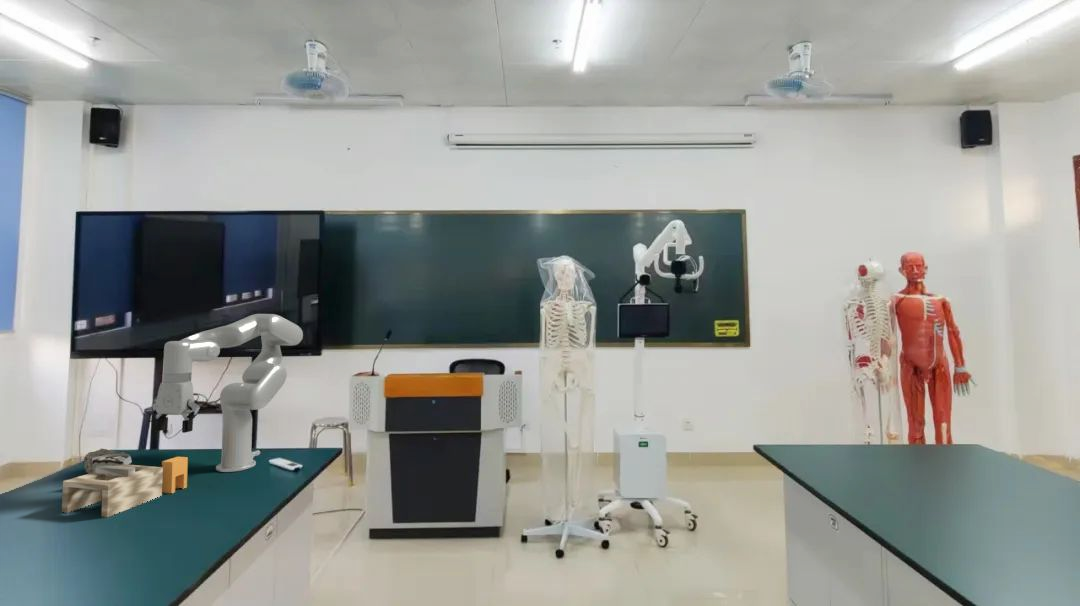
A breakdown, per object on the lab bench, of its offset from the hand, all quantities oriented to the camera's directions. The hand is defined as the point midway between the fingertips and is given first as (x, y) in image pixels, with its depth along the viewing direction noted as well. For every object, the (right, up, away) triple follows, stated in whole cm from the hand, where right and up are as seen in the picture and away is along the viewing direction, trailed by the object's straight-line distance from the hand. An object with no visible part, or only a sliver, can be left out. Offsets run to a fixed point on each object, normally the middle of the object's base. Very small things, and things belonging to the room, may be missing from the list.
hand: (174, 431), depth 154 cm
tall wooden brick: (0, -19, 0) cm, 19 cm away
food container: (-22, -19, +3) cm, 29 cm away
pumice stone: (-38, -20, +16) cm, 46 cm away
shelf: (-9, -19, -12) cm, 24 cm away
